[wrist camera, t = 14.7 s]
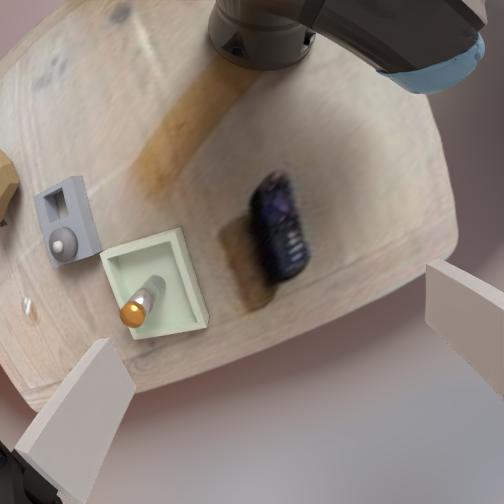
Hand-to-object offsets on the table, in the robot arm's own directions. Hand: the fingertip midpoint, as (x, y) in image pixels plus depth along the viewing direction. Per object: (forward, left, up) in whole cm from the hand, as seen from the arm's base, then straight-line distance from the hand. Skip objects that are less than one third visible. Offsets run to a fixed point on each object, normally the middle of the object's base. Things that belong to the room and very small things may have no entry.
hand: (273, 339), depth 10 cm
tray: (+5, -16, -29) cm, 33 cm away
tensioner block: (-8, -28, -29) cm, 41 cm away
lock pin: (+5, -16, -28) cm, 33 cm away
